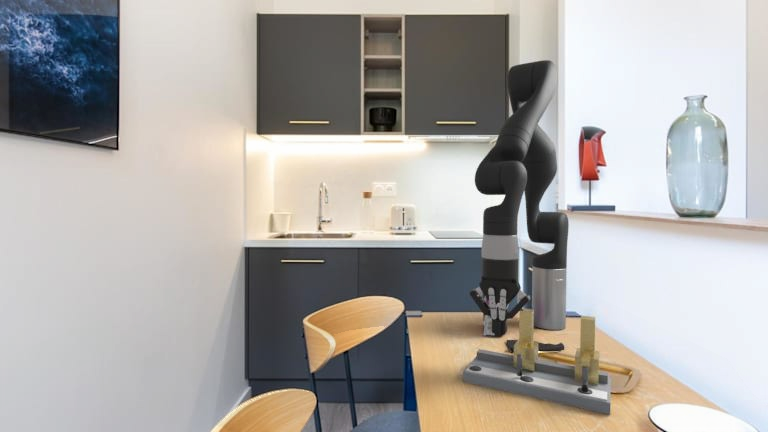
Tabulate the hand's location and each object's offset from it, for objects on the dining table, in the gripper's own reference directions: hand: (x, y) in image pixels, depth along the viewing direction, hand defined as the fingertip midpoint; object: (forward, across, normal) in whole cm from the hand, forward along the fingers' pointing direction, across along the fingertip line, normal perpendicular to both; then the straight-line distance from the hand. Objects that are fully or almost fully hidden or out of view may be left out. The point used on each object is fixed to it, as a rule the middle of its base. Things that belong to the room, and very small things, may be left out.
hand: (499, 335), depth 87 cm
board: (+7, -8, +3) cm, 11 cm away
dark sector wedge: (+8, -4, -17) cm, 19 cm away
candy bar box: (+8, +8, -26) cm, 28 cm away
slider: (+5, -6, +3) cm, 8 cm away
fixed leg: (+5, -17, +2) cm, 18 cm away
